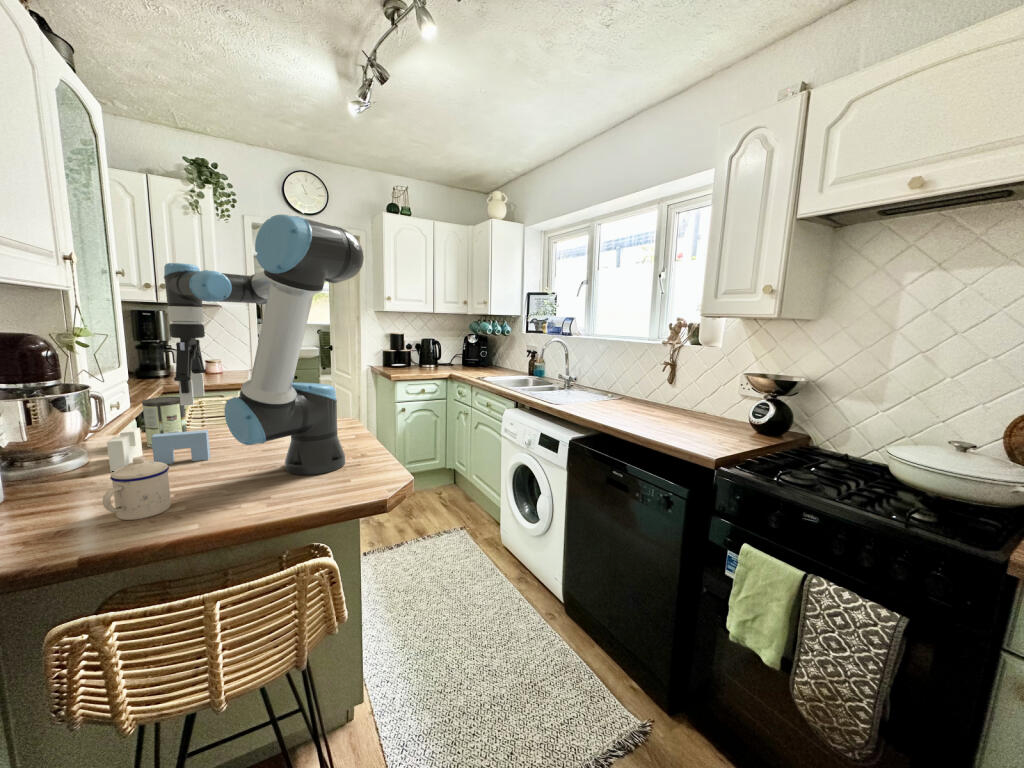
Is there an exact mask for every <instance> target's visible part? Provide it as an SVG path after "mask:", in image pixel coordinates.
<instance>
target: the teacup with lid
mask: <svg viewBox="0 0 1024 768" xmlns="http://www.w3.org/2000/svg"><path fill="white" fill-rule="evenodd" d="M169 470H170V467H169V464H165V463H162V462H154V460H146V457H145V456H143V455H142V456H140V457H135V458H133V462H132V463H129V464H127V465H126V466H124V467H122V468H119V469H117V470H115V471H114V472H111V474H110V477H109V479H110V481H112V483H111V484H112V488H109V489H108V490H107V491H106V492H105V493H104V495H103V496H102V505H103V507H104V509H105V510H107V511H108V512H112V513H115V514H116V517H117V518H118V519H120V520H124V521H133V520H141V519H142V520H143V519H146V518H150V517H153V516H157V515H159V514H162V513H164V512H166V511H168V509H169V508H170V507H171V505H172V501H171V500H172V499H171V498H172V497H171V489H170V481H169V480H170V479H169ZM112 496H113V497H114V506H115V507H114V506H113V504H112V503H111V499H112Z"/></svg>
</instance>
